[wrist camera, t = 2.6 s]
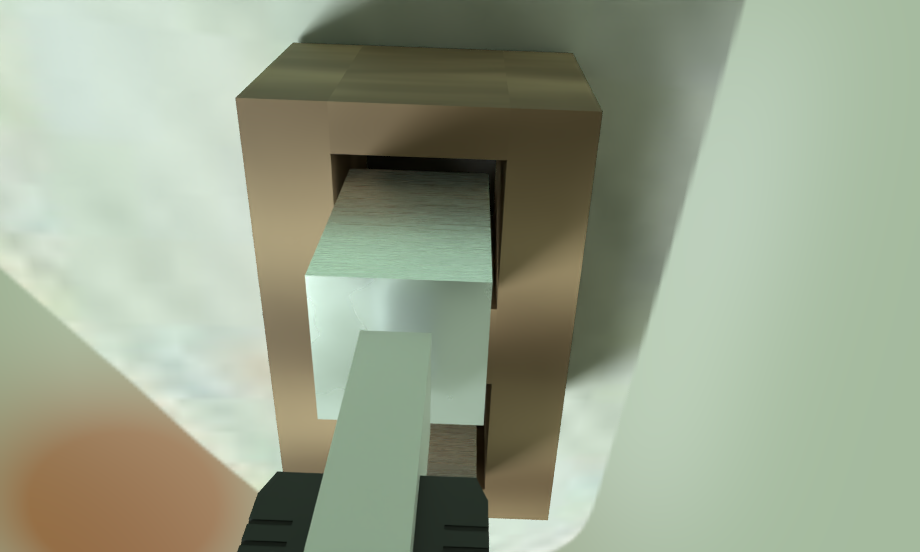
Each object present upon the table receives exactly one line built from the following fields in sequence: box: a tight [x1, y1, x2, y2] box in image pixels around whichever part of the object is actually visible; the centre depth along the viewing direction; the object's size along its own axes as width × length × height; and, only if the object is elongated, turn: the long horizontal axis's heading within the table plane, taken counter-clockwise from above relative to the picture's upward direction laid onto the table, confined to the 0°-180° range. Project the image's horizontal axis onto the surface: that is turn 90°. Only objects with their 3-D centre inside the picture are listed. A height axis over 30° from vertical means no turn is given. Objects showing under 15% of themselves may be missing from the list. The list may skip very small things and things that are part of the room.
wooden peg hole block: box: [236, 43, 603, 520], centre depth 26 cm, size 16×10×7 cm, turn 178°
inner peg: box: [305, 168, 492, 425], centre depth 19 cm, size 4×4×6 cm
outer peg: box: [426, 423, 476, 478], centre depth 23 cm, size 4×4×6 cm
